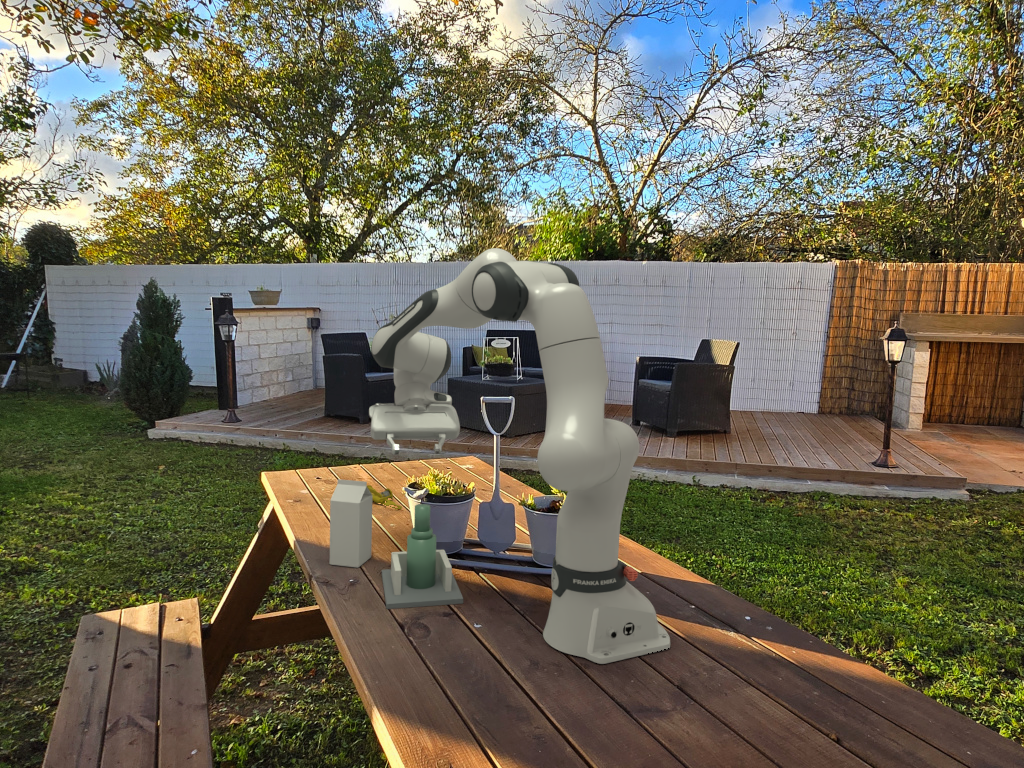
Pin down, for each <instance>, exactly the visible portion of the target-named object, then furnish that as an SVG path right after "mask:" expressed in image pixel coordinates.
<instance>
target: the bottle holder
mask: <svg viewBox="0 0 1024 768" xmlns="http://www.w3.org/2000/svg"><path fill="white" fill-rule="evenodd" d="M390 557H391V558H390V561H391V562H390V569H386V568H385V569H381V581H382V586H383V592H384V601H385V608H386V610H392V609H393V610H394V609H405V608H406V609H407V608H418V607H419V608H420V607H433V606H444V605H445V606H448V605H449V606H450V605H458V604H459V605H461V604H464V597H463V594H462V593H461V589H460V588H459V585H458V583H457V581H456V578H455V576H454V573H453V568H452V565H451V562H450V560H449V558H448V555H447V553H446V551H445V549H436V573H435V585H434V586H433V587H430V588H427V589H413V588H410V587H408V586H407V585H406V576H407V551H393V552H391V556H390Z"/></svg>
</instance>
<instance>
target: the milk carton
mask: <svg viewBox="0 0 1024 768" xmlns="http://www.w3.org/2000/svg"><path fill="white" fill-rule="evenodd" d="M367 483H368V482H367V481H364V480H363V481H360V480H351V479H350V480H349V479H340V478H338V479H337V485H336V486H335V489H334V491H333V493H332V496H331V498H330V507H329V508H330V509H329V513H330V515H329V565H331V566H332V565H333V566H339V567H340V566H341V567H349V568H360V567H361V566H362V565H363V564H365V563H366V562H367V561H368V560H369V559H371V558H372V547H373V546H372V544H373V543H372V542H373V540H372V539H373V538H372V537H373V534H372V533H373V502H372V494H373V493H372V494H371V492H370V491H369V489H368V488H367Z"/></svg>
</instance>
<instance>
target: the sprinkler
mask: <svg viewBox="0 0 1024 768" xmlns="http://www.w3.org/2000/svg"><path fill="white" fill-rule="evenodd" d="M367 488H368V489H369V491H370V492H371V494H372V503H374V502H376V503H375V504H377V503H381V505H382V504H384V505H386V506H389V505H394V506H397V507H398V508H395V507H392V508H395V509H400V510H401V509H402V508H403V506H402V505H398V504H396V502H395V501H392V500H393V498H394V494H393V491H392V489H390V488H389V487H388V488H387V487H386V488H385V489H384V491H381V492H378V491H377V490H376V489H375V488H374V487H373V485H369V484H368V485H367ZM388 498H391V499H392V500H388ZM373 501H374V502H373ZM385 501H386V503H385ZM384 505H383V506H384ZM390 507H391V506H390Z"/></svg>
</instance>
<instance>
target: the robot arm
mask: <svg viewBox="0 0 1024 768" xmlns="http://www.w3.org/2000/svg"><path fill="white" fill-rule="evenodd" d="M491 320H495V321H500V322H513V323H516V322H518V321H526V322H529V323H531V325H532V326H533V329H534V332H535V335H536V342H537V347H538V351H539V352H538V353H539V358H540V365H541V369H542V375H543V379H544V385H545V391H546V420H545V432H544V437H543V440H542V442H541V444H540V446H539V448H538V451H537V456H536V457H537V460H536V462H537V468H538V471H539V474H540V475H541V477H542V479H543V480H544V481H545V482H546V483H547V484H548V485H549V486H550V487H552V489H553V488H554V489H555V490H558V491H562V492H563V491H564V492H567V493H566V496H565V500H564V501H563V503H562V506H561V507H560V508H559V511H558V514H557V518H556V535H555V536H556V538H555V539H556V541H555V556H554V557H553V559H552V568H551V578H550V579H551V590H552V595H551V596H552V597H551V601H550V607H549V611H548V616H547V620H546V623H545V626H544V628H543V631H542V636H543V639H544V641H545V642H546V643H547V644H548V645H549V646H550V647H552V648H553V649H555V650H558V651H559V652H562V653H564V654H568V655H571V656H572V655H573V656H575V657H576V656H577V657H580V658H585V659H587V660H589V661H591V662H593V663H595V664H596V663H597V664H600V665H604V664H609V663H613V662H618V661H622V660H627V659H630V658H635V657H639V656H644V655H648V653H649V654H652V652H653V653H658V652H660V651H661V650H662V651H665V650H664V649H666V650H669V649H670V648H671V638H670V635H669V634H668V632H667V630H666V629H665V628H664V627H663V626H662V625H661V624H660V623H659V622H658V615H657V612H656V608H655V607H654V605H653V604H652V603H651V601H650V600H649V599H648V598H647V597H646V596H645V595H644V594H643V593H641V591H640V590H638V589H637V588H636V587H634V586H633V584H631V583H629V582H634V581H636V580H637V579H638V577H639V573H638V571H637V570H636V569H634V568H633V567H632V566H627V564H625V562H624V561H621V560H620V559H619V550H620V549H619V547H620V546H619V545H620V532H621V520H622V514H623V509H624V505H625V500H626V498H627V493H628V490H629V489H628V488H629V485H630V479H631V475H632V472H633V471H632V470H633V467H634V465H635V462H637V459H638V457H639V453H640V446H641V445H640V441H639V437H638V434H637V433H636V431H635V430H634V429H633V428H632V426H630V425H629V424H627V423H625V422H623V421H621V420H616V419H613V418H612V419H611V418H605V404H606V403H605V401H606V400H605V399H606V394H607V393H606V392H607V389H608V387H609V379H610V378H609V375H608V371H607V364H606V360H605V355H604V351H603V346H602V340H601V336H600V332H599V328H598V325H597V320H596V317H595V314H594V311H593V309H592V306H591V304H590V300H589V299H588V296H587V293H585V291H584V289H583V288H582V287H581V286H580V282H579V278H578V276H577V275H576V273H575V272H574V271H573V270H572V269H571V268H570V267H567V266H565V265H562V264H558V263H555V262H550V263H548V262H547V263H545V262H538V261H537V262H536V261H535V262H534V261H530V260H517V259H516V257H515V256H514V255H512V253H510V252H509V251H507V250H505V249H502V248H499V247H495V248H493V247H492V248H489V249H486V250H484V251H483V252H482V253H480V254H478V256H476V257H475V258H474V259H473V260H472V261H471V262H469V264H467V266H465V268H464V269H463V270H462V271H461V272H460V273H459V274H458V276H457V277H456V278H455V279H454V280H452V281H450V282H449V283H447V284H445V285H443V286H441V287H437V288H436V289H431V290H426V291H425V292H424V293H422V294H421V295H420V296H419V297H417V298H416V299H415V300H414V301H413V302H412V303H410V305H408V306H407V307H406V308H405V309H403V311H401V312H400V313H399V314H398V315H397V316H396V317H394V318H393V319H392V320H391V321H389V322H387V323H386V324H384V325H383V326H381V327H380V328H379V329H377V331H376V332H375V334H374V336H373V338H372V341H371V347H370V353H371V355H372V357H373V359H374V361H375V362H376V363H377V364H378V366H380V368H381V367H382V368H388V369H393V383H394V386H395V390H394V392H393V393H394V402H392V403H391V402H388V403H387V402H386V403H381V402H377V403H375V404H373V405H371V406H369V409H368V416H369V418H370V419H371V422H370V437H371V439H373V440H375V441H378V440H380V441H381V440H382V441H383V440H385V441H386V444H387V445H388V446H389V448H390V449H391V454H392V455H399V454H400V444H399V443H395V441H394V440H396V441H397V440H400V441H401V440H402V441H403V440H404V441H406V440H408V441H409V440H412V441H413V440H437V441H438V443H434V446H433V448H434V449H433V451H434V455H441V454H442V452H443V451H442V448H443V446H444V444H445V441H446V440H457V438H458V437H459V435H460V431H461V424H460V419H459V416H458V413H457V410H456V408H455V407H454V406H453V405H452V403H453V399H452V396H451V395H449V394H446V393H442V392H439V391H437V390H436V391H435V390H433V389H431V386H432V384H435V383H436V382H438V381H439V380H441V379H442V378H443V377H444V376H446V374H448V372H449V370H450V368H451V366H452V351H451V346H450V345H449V343H448V341H447V340H446V339H445V338H442V337H438V336H435V335H432V334H429V333H423V332H420V331H421V330H422V329H425V328H427V327H449V328H450V327H451V328H458V329H469V330H470V329H475V328H476V329H477V328H479V327H482V326H485V325H486V324H488V322H490V321H491ZM627 580H628V581H629V582H628V581H627ZM668 648H669V649H668ZM657 651H658V652H657ZM662 651H661V652H662Z"/></svg>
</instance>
